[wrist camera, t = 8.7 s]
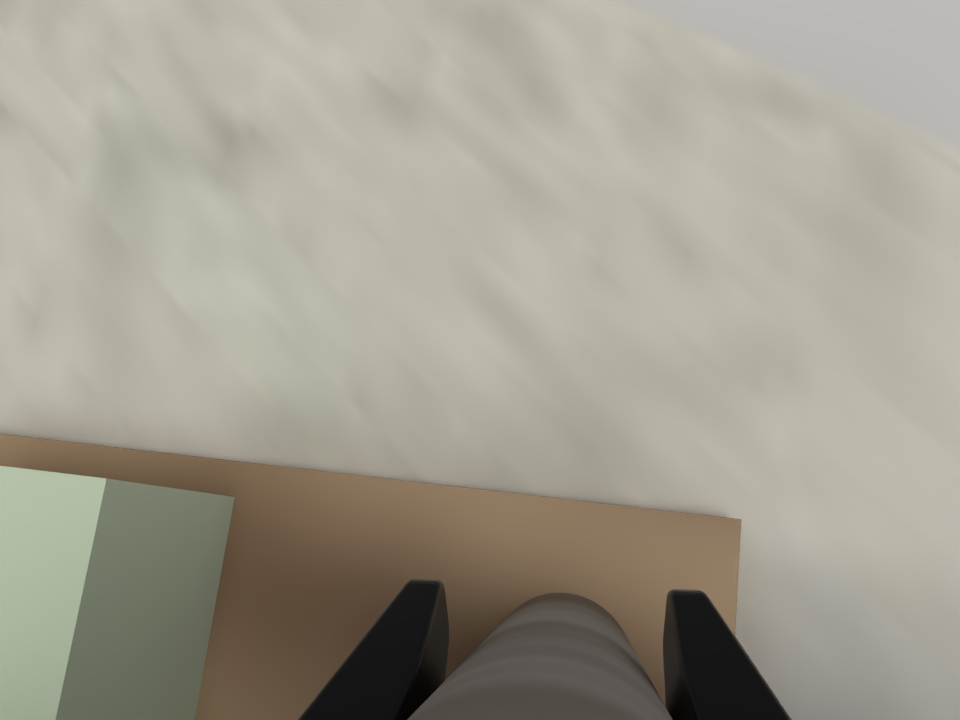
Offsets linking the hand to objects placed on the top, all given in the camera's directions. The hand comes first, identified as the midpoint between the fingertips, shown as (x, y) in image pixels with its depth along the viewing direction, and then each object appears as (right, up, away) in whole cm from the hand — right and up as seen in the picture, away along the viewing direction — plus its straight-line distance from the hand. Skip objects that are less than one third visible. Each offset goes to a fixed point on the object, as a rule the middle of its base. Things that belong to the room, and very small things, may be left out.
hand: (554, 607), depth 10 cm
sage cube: (-8, -2, +6) cm, 11 cm away
